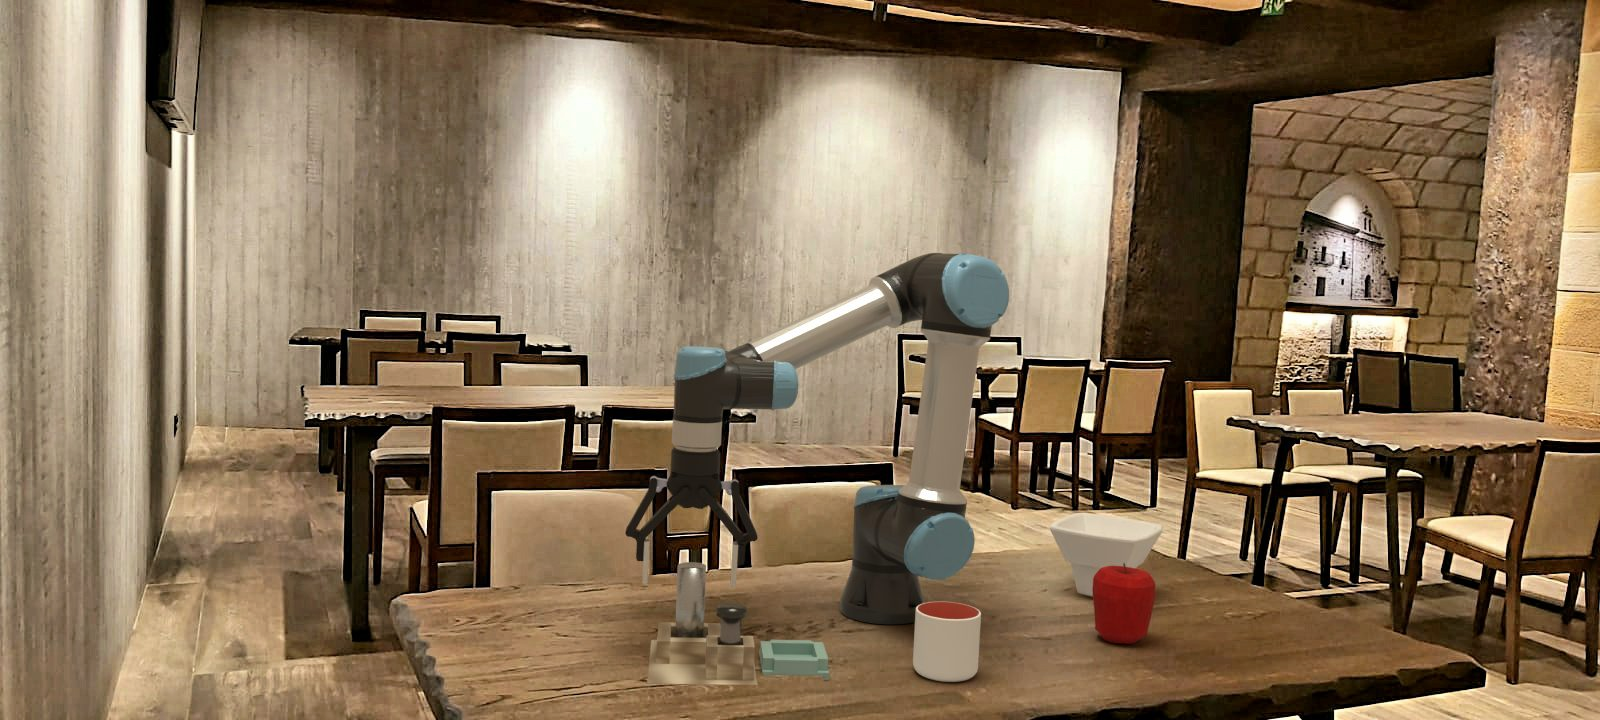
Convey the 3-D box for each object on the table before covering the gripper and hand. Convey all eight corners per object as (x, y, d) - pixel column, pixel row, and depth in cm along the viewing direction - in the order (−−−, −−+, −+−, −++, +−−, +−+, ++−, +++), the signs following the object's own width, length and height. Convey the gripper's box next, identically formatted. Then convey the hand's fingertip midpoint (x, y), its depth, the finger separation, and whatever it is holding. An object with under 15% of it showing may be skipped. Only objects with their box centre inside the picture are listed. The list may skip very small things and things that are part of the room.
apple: (1102, 650, 213) (1107, 570, 212) (1079, 631, 223) (1084, 555, 222) (1162, 650, 215) (1167, 570, 213) (1137, 631, 225) (1142, 555, 223)
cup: (907, 662, 202) (910, 600, 202) (969, 663, 203) (973, 601, 202) (918, 684, 193) (922, 619, 192) (983, 685, 193) (987, 620, 193)
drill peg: (702, 649, 202) (706, 562, 200) (703, 658, 197) (706, 569, 196) (674, 649, 201) (677, 561, 200) (674, 658, 197) (677, 569, 196)
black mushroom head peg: (743, 662, 193) (745, 603, 192) (744, 672, 189) (747, 611, 188) (714, 662, 193) (716, 602, 192) (714, 672, 189) (717, 611, 188)
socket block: (750, 646, 207) (752, 611, 207) (757, 690, 187) (758, 651, 186) (651, 644, 206) (652, 609, 205) (646, 688, 185) (648, 649, 185)
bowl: (1165, 594, 250) (1170, 524, 249) (1133, 616, 234) (1139, 541, 233) (1073, 578, 260) (1078, 510, 259) (1037, 597, 244) (1042, 525, 243)
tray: (821, 658, 202) (822, 640, 202) (828, 680, 192) (829, 660, 192) (758, 657, 201) (759, 639, 201) (762, 679, 191) (763, 660, 191)
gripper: (775, 447, 201) (768, 579, 203) (615, 440, 199) (609, 574, 201) (778, 455, 194) (771, 592, 196) (612, 447, 192) (606, 587, 193)
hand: (689, 583), depth 198 cm, fingers open, 13 cm apart
